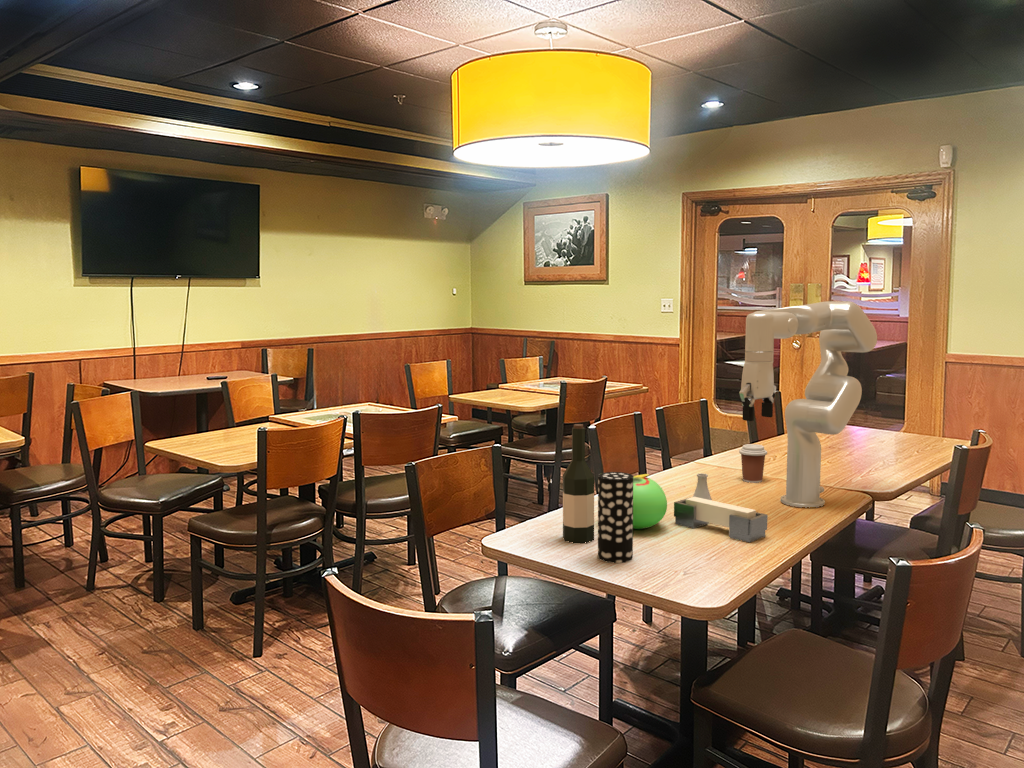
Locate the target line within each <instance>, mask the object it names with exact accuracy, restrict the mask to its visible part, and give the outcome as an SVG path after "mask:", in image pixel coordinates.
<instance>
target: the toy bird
mask: <svg viewBox="0 0 1024 768" xmlns="http://www.w3.org/2000/svg"><path fill="white" fill-rule="evenodd" d="M648 476H650V474H649V473H644V474H638V475H633V530H634V529H635V530H636V529H637V530H641V529H648V528H650V527H654V526H655V525H657V524H659V523H660V521H662V519H664V517H665V515H666V513H667V509H668V500H667V499H668V498H667V496H666V494H665V492H664V490H663V488H662V487H661V485H660V484H659V483H658V482H657V481H655V480H653V479H652V478H650V477H648Z"/></svg>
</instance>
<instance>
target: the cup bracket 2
mask: <svg viewBox="0 0 1024 768" xmlns="http://www.w3.org/2000/svg"><path fill="white" fill-rule="evenodd" d="M768 516H769V515H768V514H766V513H761V512H757V511H756V517H754V518H751V519H750V518H746V517H741V516H737V515H732V514H731V515H729V527H728V538H729V537H730V539H732V540H733V539H734V540H736V541H740V540H742V542H744V541H746V542H745V543H748V542H749V543H753V542H755V541H757V540H760V539H762V538H765V537H766V531H767V530H768V518H769V517H768Z"/></svg>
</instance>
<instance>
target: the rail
mask: <svg viewBox="0 0 1024 768" xmlns="http://www.w3.org/2000/svg"><path fill="white" fill-rule="evenodd" d="M687 498H688V499H687ZM687 498H685V499H686V504H689V505H693V506H696V520H700V521H704V522H708V524H712V525H717V526H721V527H725V528H729V515H731V514H732V515H737V516H741V517H746V518H750V519H751V518H754V517H756V512H757V510H756V509H752V508H748V507H743V506H739V505H735V504H729V503H725V502H720V501H716V500H713V499H712V500H707V499H703V498H698V497H693V496H692V497H687Z"/></svg>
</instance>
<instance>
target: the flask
mask: <svg viewBox="0 0 1024 768" xmlns="http://www.w3.org/2000/svg"><path fill="white" fill-rule="evenodd" d="M696 477H697V482H696V486H695V489H694V493H693V496H692V497H698V498H703V499H707V500H712V501H713V499H712V496H711V494H710V490H709V487H708V477H709V474H707V473H697V474H696Z"/></svg>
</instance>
